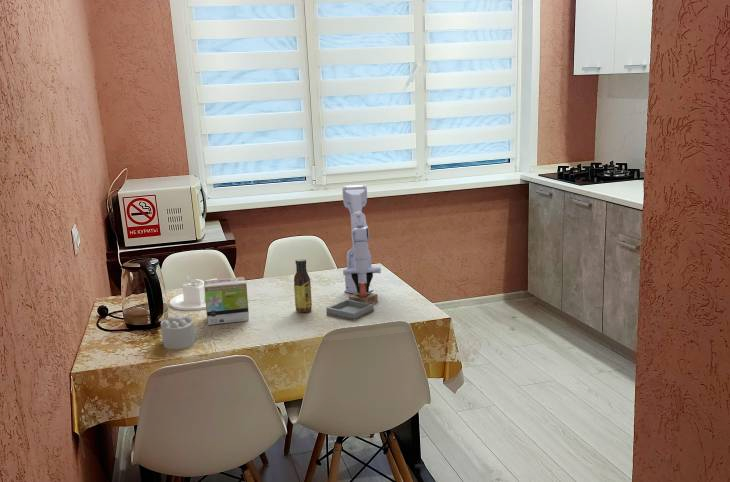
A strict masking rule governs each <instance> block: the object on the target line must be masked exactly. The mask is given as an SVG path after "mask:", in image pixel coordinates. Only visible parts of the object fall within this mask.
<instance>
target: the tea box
mask: <svg viewBox="0 0 730 482" xmlns="http://www.w3.org/2000/svg"><path fill="white" fill-rule="evenodd" d="M203 281H204V288H205V300H206V309H205V310H206V319H207V325H208V326H212V325H218V324H220V325H221V324H229V323H239V322H240V323H241V322H248V321H250V315H249V300H248V299H249V298H248V286H247V285H248V284H247V281H246V279H245V276H240V277H239V276H238V277H231V278H229V277H228V278H220V279H219V278H217V280H211V279H207V281H205V280H203Z"/></svg>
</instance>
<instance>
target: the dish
mask: <svg viewBox="0 0 730 482" xmlns="http://www.w3.org/2000/svg"><path fill="white" fill-rule="evenodd" d="M186 278H187V279H188V281H189V283H185V284H181V286H182V287H181V289H182V293H181V294H178V295H176V296H173V298H171V299H169V300H170V301H169V306H170V307H171V308H172V309H176V310H179V311H190V312H191V311H202V310H203V311H204V310H206V300H205V288H204V281H207V280H208V279H207V280H202V279H200V278H199V279H198V278H196V279H194V278H193V277H192V276H190V275H189V274H188V275H187V274H186ZM217 279H218V278H211V279H210V280H217Z"/></svg>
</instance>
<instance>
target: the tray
mask: <svg viewBox="0 0 730 482" xmlns="http://www.w3.org/2000/svg"><path fill="white" fill-rule="evenodd" d="M374 309H375V307H374V303H373V304H368V303H363V302H358V301H353V300H349V298H348V299H347V298H346V299H344V300H340V301H339V302H337V303H334V304H332V305H330V306H328V307H326V310H325V312H326V315H329V316H334V317H338V318H343V319H346V320H350V321H351V320H352V321H355V320H357V319H360V318H362V317H365V316H366V315H369V314H370V313H372V312H374V311H375V310H374Z"/></svg>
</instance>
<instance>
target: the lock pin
mask: <svg viewBox="0 0 730 482" xmlns="http://www.w3.org/2000/svg"><path fill="white" fill-rule="evenodd" d="M359 297H367V286H366V282H359Z"/></svg>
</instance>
